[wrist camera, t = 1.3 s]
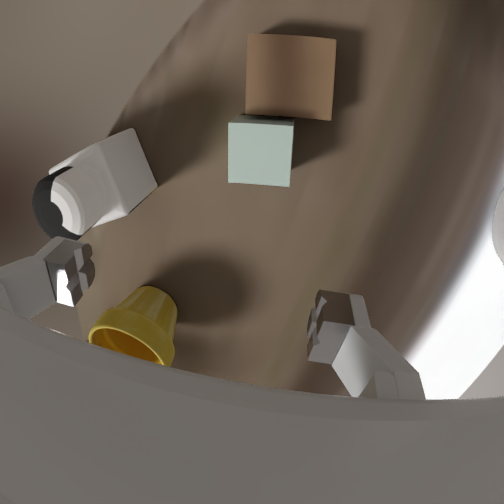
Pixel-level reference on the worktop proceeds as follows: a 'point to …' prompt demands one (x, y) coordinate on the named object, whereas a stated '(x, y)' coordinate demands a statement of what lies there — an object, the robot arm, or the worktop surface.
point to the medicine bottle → (93, 186)
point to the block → (290, 75)
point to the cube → (260, 150)
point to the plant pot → (139, 326)
